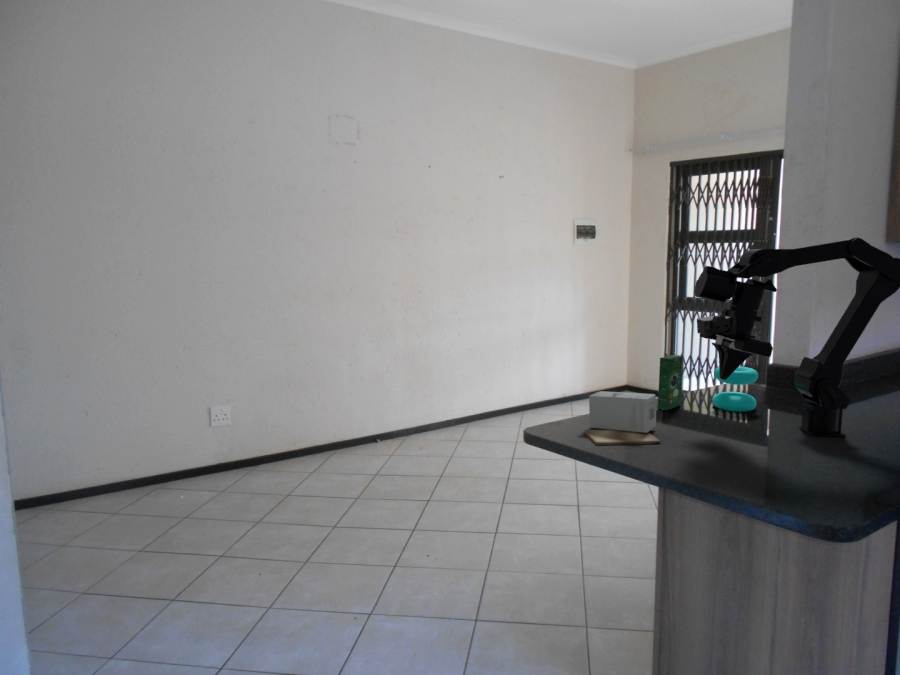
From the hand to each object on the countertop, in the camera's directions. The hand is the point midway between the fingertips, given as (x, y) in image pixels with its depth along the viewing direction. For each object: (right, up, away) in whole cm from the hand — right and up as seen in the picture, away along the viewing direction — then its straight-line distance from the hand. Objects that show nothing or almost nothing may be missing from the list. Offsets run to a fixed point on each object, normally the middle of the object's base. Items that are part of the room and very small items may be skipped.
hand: (722, 379), depth 129 cm
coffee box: (-3, -9, +22) cm, 24 cm away
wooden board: (-23, -12, -3) cm, 26 cm away
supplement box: (-15, -7, 0) cm, 17 cm away
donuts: (+13, -9, +22) cm, 27 cm away
